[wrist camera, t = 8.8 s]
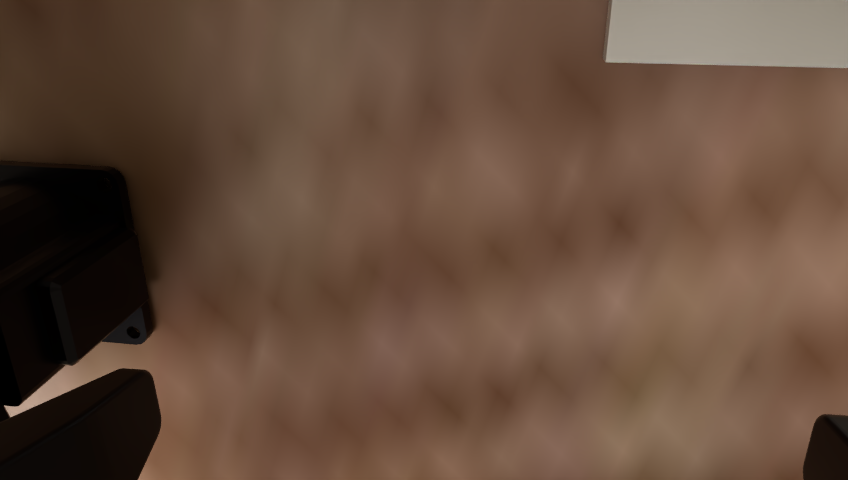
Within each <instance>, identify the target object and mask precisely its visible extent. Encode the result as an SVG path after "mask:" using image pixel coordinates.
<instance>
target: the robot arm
mask: <svg viewBox="0 0 848 480" xmlns="http://www.w3.org/2000/svg"><path fill="white" fill-rule="evenodd" d="M104 178H107V179H108V180H109V181H110V183H111V185H112V187H111V188H109V187H108V186H107V185H106V184H105V182H104ZM147 300H148V292H147V286H146V281H145V275H144V270H143V264H142V259H141V253H140V248H139V242H138V237H137V235H136V233H135V231H134V225H133V220H132V214H131V209H130V204H129V198H128V193H127V187H126V182H125V179H124V176H123V175H122V174H121V173H120V171H118V170H117V169H115V168H113V167H109V166H90V165H71V164H51V163H31V162H12V161H0V480H138V478H139V476H140V474H141V471H142V469H143V467H144V465H145V463H146V461H147V458H148V456H149V454H150V452H151V450H152V448H153V445H154V443H155V441H156V439H157V437H158V434H159V431H160V428H161V413H160V409H159V404H158V399H157V394H156V390H155V385H154V380H153V377H152V375H151V374H150V373H149V372H148V371H146V370H140V369H124V368H123V369H118V370H116V371H113V372H111V373H109V374H107V375H104V376H102V377H100V378H98V379H96V380H93V381H91V382H89V383H87V384H84V385H82V386H80V387H78V388H75V389H73V390H71V391H69V392H67V393H64V394H62V395H60V396H58V397H55V398H53V399H51V400H49V401H47V402H44V403H42V404H40V405H38V406H35V407H33V408H31V409H29V410H26V411H24V412H22V413H20V414H18V415H15V416H13V417H11V418H10V416H9V414H8V412H7V410H6V408H5V407H4V405H6V406H19V405H21V404H22V403H23V402H24V401H25V400H26V399H27V398H29V397H30V396H31V395H32V394H33V393H34V392H35V391H37V390H38V389H39V388H40V387H41V386H42V385H44V384H45V383H46V382H47V381H48V380H49V379H50V378H52V377H53V376H54V375H55V374H56V373H57V372H58V371H60V370H61V369H62V368H63V367H64V366H65V365H70V366H73V365H75V364H76V363H77V362H79V361H80V360H81V359H82V358H83V357H84V356H85V355H86V354H88V353H89V352H90V351H91V350H92V349H93V348H94V347H95V346H97V345H98V344H99V343H100V342H101V341H102V342H113V343H124V344H135V345H137V344H142V343H143V342H145V341H146V340H147V339H148V338H149V337H150V336H151V334H152V323H151V317H150V312H149V307H148V301H147ZM133 327H136V328H137V329H138V330H139V332H140V333H139V332H137V331H136V330H134V328H133ZM803 479H804V480H848V416H845V415H830V414H823V415H821V416H819V417H818V418H817V419H816V421H815V423H814V426H813V430H812V434H811V438H810V442H809V445H808V449H807V453H806V457H805V461H804V465H803Z"/></svg>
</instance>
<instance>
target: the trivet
mask: <svg viewBox="0 0 848 480" xmlns="http://www.w3.org/2000/svg"><path fill="white" fill-rule="evenodd" d="M603 59H604V61H605V62H614V63H656V64H697V65H738V66H780V67H821V68H848V0H609V4H608V13H607V23H606V32H605V42H604V51H603Z"/></svg>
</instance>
